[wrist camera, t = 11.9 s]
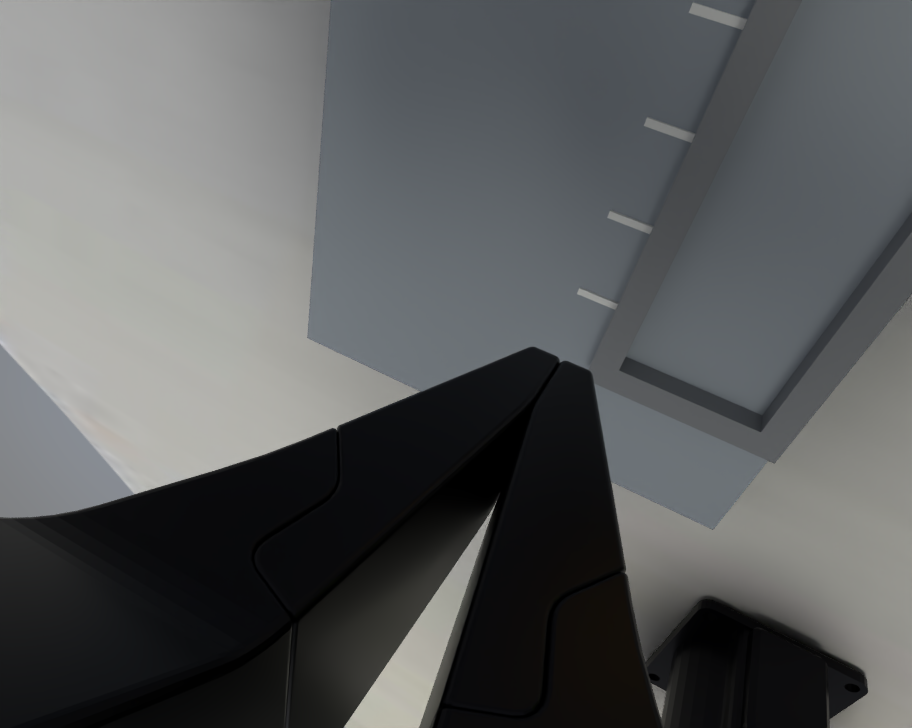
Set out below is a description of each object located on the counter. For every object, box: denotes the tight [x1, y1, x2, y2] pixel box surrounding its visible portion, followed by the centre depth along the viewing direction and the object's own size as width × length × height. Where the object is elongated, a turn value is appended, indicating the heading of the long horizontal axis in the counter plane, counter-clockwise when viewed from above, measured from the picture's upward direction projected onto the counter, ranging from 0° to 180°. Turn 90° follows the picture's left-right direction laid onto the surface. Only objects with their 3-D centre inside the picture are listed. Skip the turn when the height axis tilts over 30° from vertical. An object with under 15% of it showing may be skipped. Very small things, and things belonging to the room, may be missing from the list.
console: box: [307, 0, 912, 530], centre depth 15 cm, size 22×16×6 cm
